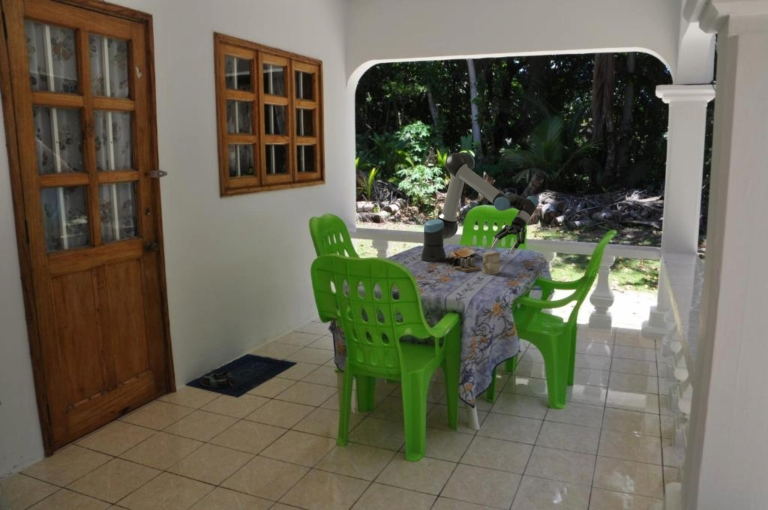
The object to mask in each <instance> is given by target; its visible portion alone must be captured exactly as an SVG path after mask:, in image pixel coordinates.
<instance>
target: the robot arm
mask: <svg viewBox="0 0 768 510" xmlns="http://www.w3.org/2000/svg"><path fill="white" fill-rule="evenodd" d="M475 164H476V160H475V157H474V156H473V155H472V154H471V153H469V152H467V151H466V152H465V151H461V152H453V153H450V154H449V155H447V157H446V159H445V161H444V166H445V168H446V170H447V171H448V173H449V175H450V179H449V184H448V188H447V192H446V197H445V198H444V199H445V200H444V203H443V207H442V212H441V213H440V214H438V217H437V218H436V219H434V218H433V219H429V220H426V221H425V222H424V224H423V225H424V226H423V249H422V253H421V255H420V259H421V261H423V262H431V263H432V262H433V263H435V262H443V261H446V260H447V254H446V252H445V248H444V240H447V239H450V238H452V237H454V236H456V234H457V232H458V228H459V226H458V223H457V222H458V218H457V217H456V216H457V213H458V212H457V211H458V208H459V205H460V201H461V198H462V197H461V196H462V193H463V189H464V185H465V183H466V184H467V185H468V186H469V187H470V188H472V189H473V190H475V191H476V192H477V193H479V195H481V196H483V197H484V198H485V199H487V201H489V202H490V203H492V204H493V205H494V208H495V209H496V210H497V211H498V212H504V211H508V210H509V209H510V210H511V209H514V210H517V213H516V215H514V218H513V219H512V221H511V225H508V224H506V225H504V226H503V228H501V229H500V230H499V231H498V232H496V233H495V234H494V235H493V237H494V241H493V242H492V244H491V247H490V248H491V249H492V250H493V251H495V250H496V248H497V246H498V245H499V243H500V242H501V241H500V240H503V239H504V238H506V237H507V236H511V235H514V236H515V237H516V241H514V243H513V245H512V247H511V248H510V250H509V252H510V253H511V255H513V254H514V253H515V251H516V250H517V249H518V248H519V247H520V245H524V244H525V241H526V233H527V231H528V230H527V229H526V226H527V224H528V222H529V221H530V220H531V217H532V216H533V214H534V213H535V211H536V210H537V208H538V206H539V204H540V201H539V199H538V198H537V197H536V196H533V195H529V196H527V197H526V198H525V197H523V196H520V195H517V194H515V193H513V192H510V191H506V192H505V193H503V192H501V191H500V190H498V188H496V187H495V186H493V185H492V184H490V183H489V182H488V181H486V180H485V179H484V178H483V177H481V176H480V175H479V174H477V173H476V172H475V171H473V170H474V168H475Z"/></svg>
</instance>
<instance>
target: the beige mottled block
mask: <svg viewBox="0 0 768 510" xmlns="http://www.w3.org/2000/svg"><path fill="white" fill-rule="evenodd" d="M500 260H501V253H500V252H497V251H488V252H484V253H482V274H485V275H488V276H489V275H494V274H499V273H500V269H501V267H500V266H501V265H500V264H501V261H500Z"/></svg>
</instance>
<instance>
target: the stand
mask: <svg viewBox="0 0 768 510" xmlns="http://www.w3.org/2000/svg"><path fill="white" fill-rule="evenodd" d="M475 261H476V259H475V257H471V256H467V258H463V257H461V258H460V265H459V266H455V267H454V271H458V272H461V273H462V272H463V273H466V274H467V273H472V272H476V271H481V266H477V265H476V263H475Z"/></svg>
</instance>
